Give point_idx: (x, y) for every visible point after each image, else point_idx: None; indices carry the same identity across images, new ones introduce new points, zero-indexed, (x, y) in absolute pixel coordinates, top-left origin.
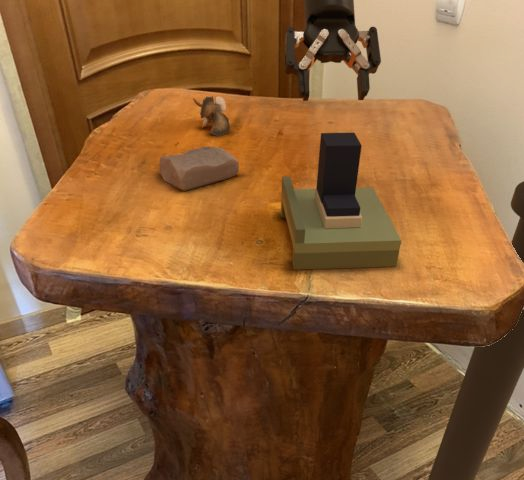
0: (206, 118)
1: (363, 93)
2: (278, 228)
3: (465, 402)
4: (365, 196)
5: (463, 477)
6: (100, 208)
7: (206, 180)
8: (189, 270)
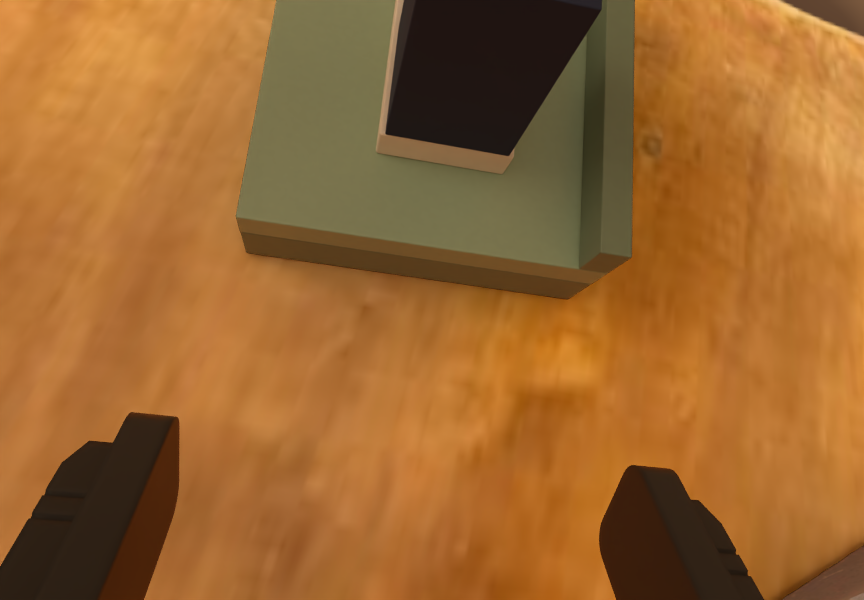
0: None
1: (157, 416)
2: None
3: None
4: (301, 148)
5: None
6: None
7: (830, 573)
8: (822, 64)
